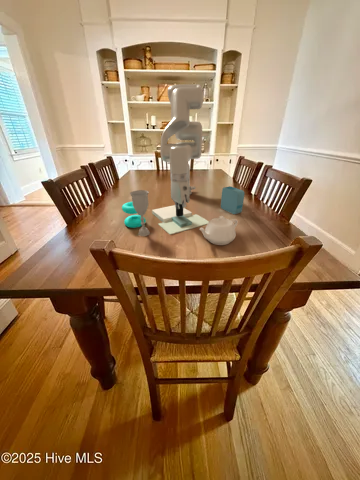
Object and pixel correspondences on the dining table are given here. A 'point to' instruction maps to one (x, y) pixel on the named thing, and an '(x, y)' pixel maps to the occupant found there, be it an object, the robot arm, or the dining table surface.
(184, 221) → the tile
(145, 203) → the chalice
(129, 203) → the donuts
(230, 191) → the data package
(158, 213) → the block
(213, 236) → the teapot
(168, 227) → the mat
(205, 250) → the dining table surface
